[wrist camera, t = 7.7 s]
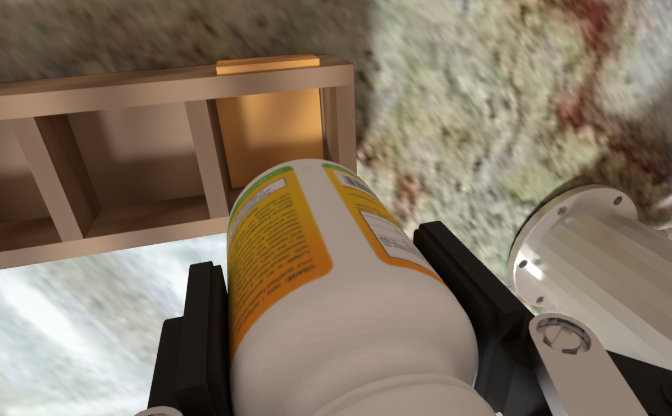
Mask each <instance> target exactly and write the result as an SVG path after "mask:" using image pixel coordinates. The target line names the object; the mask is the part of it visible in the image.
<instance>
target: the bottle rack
mask: <svg viewBox="0 0 672 416" xmlns="http://www.w3.org/2000/svg"><path fill="white" fill-rule="evenodd" d="M299 159H321V160H326V161H331V162H334V163H337V164H339V165H342V166H344V167H346V168H347V169H349V170H351V171H352V172H354V173H355V174H356V175H357V163H356V127H355V91H354V64H352V63H350V62H348V61H346V60H344V59H342V58H340V57H338V56H335V55H333V54H332V55H320V56H314V55H312V54H311V53H308V54H296V55H284V56H272V57H260V58H248V59H236V60H224V61H217V64H214V65H202V66H190V67H178V68H166V69H155V70H143V71H131V72H119V73H107V74H95V75H84V76H72V77H60V78H48V79H36V80H25V81H13V82H1V83H0V269H6V268H12V267H19V266H25V265H31V264H37V263H43V262H49V261H55V260H61V259H68V258H74V257H80V256H86V255H92V254H98V253H104V252H110V251H116V250H123V249H129V248H135V247H141V246H147V245H153V244H159V243H165V242H172V241H178V240H184V239H190V238H196V237H202V236H208V235H214V234H220V233H227V228H228V221H229V217H230V213H231V211H232V208H233V206H234V203H235V202H236V200H237V198H238V197H239V195H240V194H241V192H242V191H243V190H244V189H245V187H246V186H247V185H248V184H249V183H250V182H252V181H253V180H254V179H255V178H256V177H258V176H259V175H260V174H262V173H263V172H265V171H267V170H269V169H270V168H272V167H275V166H277V165H279V164H282V163H285V162H289V161H293V160H299Z"/></svg>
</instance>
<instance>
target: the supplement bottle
mask: <svg viewBox="0 0 672 416" xmlns="http://www.w3.org/2000/svg"><path fill="white" fill-rule="evenodd" d="M227 282H228V371H229V388H230V396H231V407H232V413H233V416H496V414H495V412H494V411H493V409H492V408H491V406H490V405H489V404H488V403H487V402H486V401H485V400H484V399H483V398H482V397H481V396H479V394H478V393H477V392H476V390H475V389H474V388H473V387H474V384H475V381H476V376H477V372H478V363H479V358H478V345H477V340H476V336H475V333H474V330H473V327H472V324H471V322H470V320H469V318H468V316H467V314H466V312H465V311H464V310H463V308H462V307H461V305H460V304H459V302H458V301H457V299H456V297H455V296H454V295H453V293H452V292H451V291H450V289H449V288H448V287H447V285H446V284H445V283H444V282H443V281H442V279H441V278H440V277H439V276H438V274H437V273H436V272H435V271H434V269H433V268H432V267H431V266H430V264H429V263H428V262H427V260H426V259H425V258H424V257H423V255H422V254H421V253H420V252H419V250H418V249H417V248H416V247H415V245H414V244H413V243H412V241H411V240H410V239H409V238H408V236H407V235H406V234H405V233H404V231H403V230H402V228H401V227H400V226H399V225H398V223H397V222H396V221H395V220H394V218H393V217H392V216H391V215H390V213H389V212H388V211H387V210H386V208H385V207H384V206H383V204H382V203H381V202H380V201H379V199H378V198H377V197H376V195H375V194H374V193H373V192H372V190H371V189H370V188H369V187H368V186H367V185H366V184H365V183H364V181H363V180H362V179H361V178H360V177H359V176H357V175H356V174H355V173H354V172H352V171H351V170H349V169H347V168H346V167H344V166H342V165H339V164H337V163H334V162H331V161H326V160H321V159H299V160H293V161H289V162H285V163H282V164H279V165H277V166H275V167H272V168H270V169H269V170H267V171H265V172H263V173H262V174H260V175H259V176H258V177H256V178H255V179H254V180H253V181H252V182H250V183H249V184H248V185H247V186H246V187H245V189H244V190H243V191H242V192H241V194H240V195H239V197H238V198H237V200H236V202H235V203H234V206H233V208H232V211H231V213H230V217H229V221H228V228H227Z"/></svg>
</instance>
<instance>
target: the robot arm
mask: <svg viewBox="0 0 672 416" xmlns="http://www.w3.org/2000/svg"><path fill="white" fill-rule="evenodd" d="M413 244H414V245H415V247H416V248H417V249H418V250H419V252H420V253H421V254H422V255H423V257H424V258H425V259H426V260H427V262H428V263H429V264H430V266H431V267H432V268H433V269H434V271H435V272H436V273H437V274H438V276H439V277H440V278H441V279H442V281H443V282H444V283H445V284H446V285H447V287H448V288H449V289H450V291H451V292H452V293H453V295H454V296H455V297H456V299H457V301H458V302H459V304H460V305H461V307H462V308H463V310H464V311H465V312H466V314H467V316H468V318H469V320H470V322H471V324H472V327H473V330H474V333H475V336H476V340H477V345H478V358H479V363H478V372H477V376H476V381H475V384H474V387H473V388H474V389H475V390H476V392H477V393H478V394H479V396H481V397H482V398H483V399H484V400H485V401H486V402H487V403H488V404H489V405H490V406H491V408H492V409H493V411H494V412H495V413H498V412H501V413H502V415H503V416H672V228H668V229H663V230H659V231H657V230H655V229H653V228H651V227H649V226H647V225H646V224H644V223H642V222H640V221H638V215H637V210H636V207H635V205H634V203H633V201H632V200H631V199H630V198H629V197H628V196H627V195H626V194H625V193H623V192H621V191H619V190H617V189H615V188H613V187H610V186H606V185H600V184H591V185H585V186H580V187H577V188H574V189H571V190H568V191H566V192H565V193H563V194H561V195H559V196H557V197H555V198H554V199H552V200H551V201H550V202H548V203H547V204H545V205H544V206H543V207H542V208H541V209H540V210H538V211H537V212H536V213H535V214H534V215H533V216H532V217H531V218H530V220H529V221H528V222H527V223H526V225H525V226H524V227H523V229H522V230H521V232H520V233H519V235H518V237H517V238H516V240H515V243H514V245H513V247H512V250H511V253H510V257H509V261H508V276H509V281H510V283H511V285H512V287H513V289H514V290H515V291H516V293H517V294H518V295H519V296H520V297H521V298H522V299H524V300H525V301H526V302H528V303H529V304H532V305H534V306H538V307H557V308H558V309H560V310H561V311H562V312H563V313H564V314H565V315H566V316H565V315H562V314H555V313H545V314H540V315H538V316H534V315H533V314H532V313H531V312H530V311H529V310H528V309H527V308H526V307H525V306H524V305H523V304H522V303H521V302H520V301H519V300H518V299H517V298H516V297H515V296H514V295H513V294H512V293H511V292H510V290H509V289H508V288H507V287H506V286H505V285H504V284H503V283H502V282H501V281H500V280H499V279H498V278H497V277H496V276H495V275H494V274H493V273H492V272H491V271H490V270H489V269H488V268H487V267H486V266H485V265H484V264H483V263H482V262H481V261H479V260H478V259H477V258H476V257H475V256H474V255H473V254H472V253H471V252H470V251H469V249H468V248H467V247H466V246H465V245H464V244H463V243H462V242H461V241H460V240H459V239H458V238H457V237H456V236H455V235H454V234H453V233H452V232H451V231H450V230H449V229H448V228H447V227H446V226H445V225H444V224H443V223H442V222H440V221H434V222H428V223H422V224H420V226H419V229H416V230H415V231H414V236H413ZM134 416H233V413H232V407H231V396H230V388H229V371H228V294H227V289H226V285H225V281H224V276H223V272H222V268H221V265H217V266H213V263H212V261H209V262H203V263H198V264H192V265H190V268H189V276H188V284H187V292H186V300H185V308H184V316H182V317H177V318H172V319H167V320H165V321H164V323H163V327H162V332H161V337H160V343H159V348H158V353H157V359H156V364H155V369H154V375H153V380H152V385H151V391H150V396H149V401H148V407H147V410H144V411H141V412H139V413H138V414H136V415H134Z"/></svg>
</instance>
